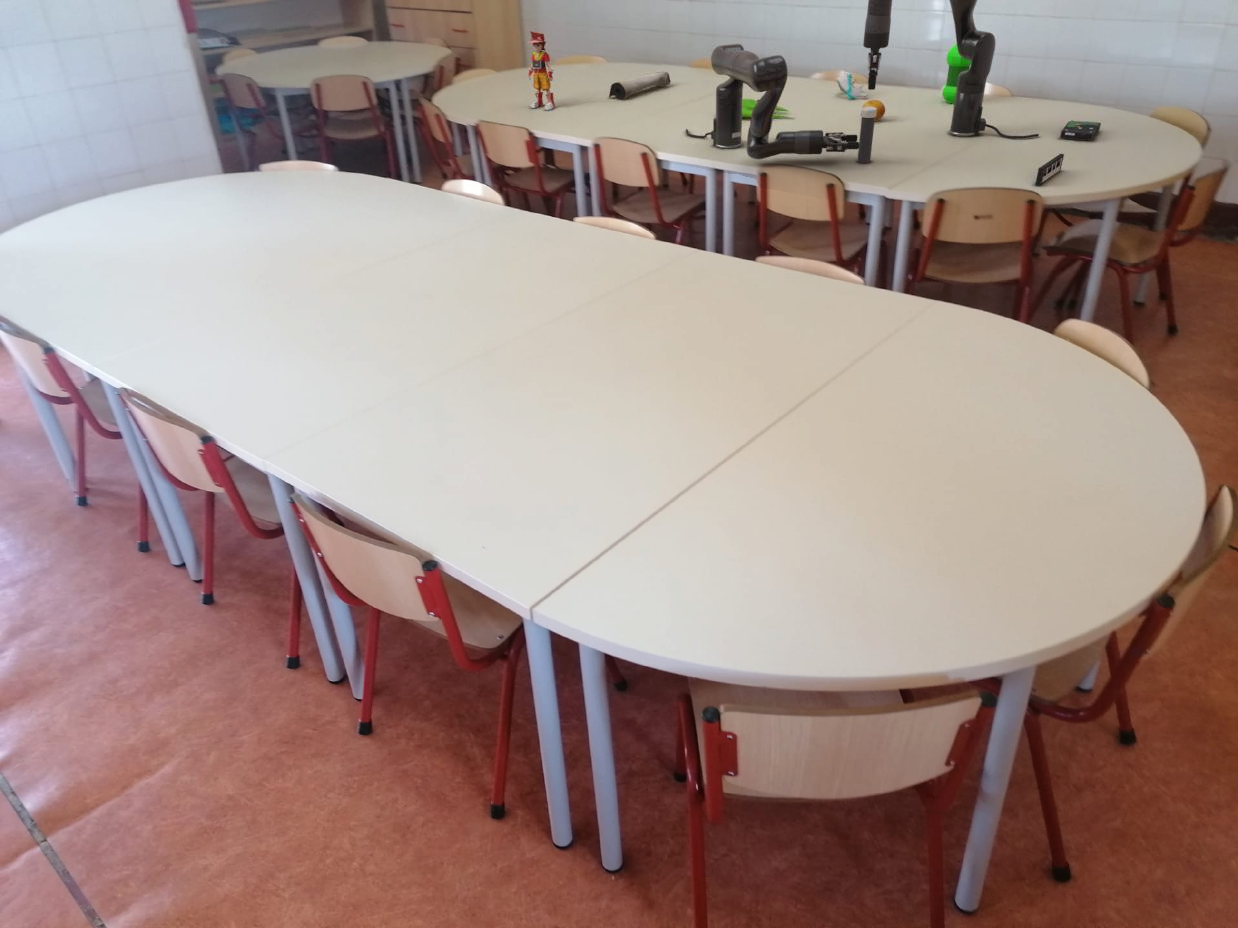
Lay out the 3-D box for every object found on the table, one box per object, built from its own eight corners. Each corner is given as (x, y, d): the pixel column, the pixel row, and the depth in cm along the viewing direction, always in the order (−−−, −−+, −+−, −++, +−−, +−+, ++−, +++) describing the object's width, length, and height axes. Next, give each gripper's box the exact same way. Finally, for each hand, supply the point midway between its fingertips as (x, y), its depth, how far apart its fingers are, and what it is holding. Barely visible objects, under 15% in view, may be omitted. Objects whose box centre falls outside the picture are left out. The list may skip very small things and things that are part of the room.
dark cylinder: (872, 162, 297) (878, 110, 288) (863, 164, 296) (868, 112, 286) (864, 159, 300) (869, 108, 291) (854, 161, 299) (859, 110, 289)
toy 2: (706, 117, 350) (777, 129, 338) (708, 103, 348) (779, 115, 335) (737, 106, 371) (804, 117, 358) (738, 93, 368) (807, 104, 355)
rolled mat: (651, 76, 408) (662, 61, 399) (662, 93, 408) (674, 79, 400) (605, 92, 391) (616, 77, 383) (617, 110, 391) (628, 95, 383)
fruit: (856, 112, 335) (869, 93, 332) (858, 116, 343) (871, 96, 340) (874, 125, 334) (888, 105, 331) (876, 128, 342) (889, 109, 339)
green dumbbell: (973, 101, 354) (984, 32, 339) (955, 106, 349) (966, 36, 335) (952, 97, 361) (962, 29, 346) (934, 102, 356) (944, 33, 342)
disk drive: (1092, 142, 302) (1099, 130, 312) (1094, 133, 301) (1101, 122, 311) (1059, 139, 307) (1067, 127, 317) (1061, 130, 305) (1069, 119, 316)
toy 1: (525, 109, 381) (517, 32, 364) (534, 104, 388) (527, 28, 371) (550, 110, 377) (543, 32, 360) (559, 105, 384) (553, 28, 367)
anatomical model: (832, 71, 373) (856, 64, 372) (834, 96, 379) (858, 90, 378) (842, 79, 360) (867, 72, 360) (845, 105, 366) (869, 98, 366)
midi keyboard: (1039, 185, 269) (1043, 168, 266) (1035, 184, 270) (1038, 168, 267) (1060, 170, 279) (1064, 154, 277) (1056, 169, 280) (1060, 153, 277)
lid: (879, 116, 289) (880, 109, 287) (867, 119, 287) (868, 111, 285) (869, 113, 292) (869, 106, 291) (857, 116, 290) (858, 108, 289)
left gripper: (809, 136, 289) (860, 136, 286) (808, 125, 300) (857, 124, 298) (807, 160, 293) (858, 160, 291) (806, 148, 305) (855, 147, 302)
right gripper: (890, 34, 269) (883, 92, 278) (889, 25, 280) (883, 81, 289) (864, 34, 270) (859, 92, 279) (864, 26, 282) (859, 81, 291)
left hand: (858, 142), depth 294 cm, fingers open, 8 cm apart
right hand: (871, 86), depth 284 cm, fingers open, 7 cm apart
